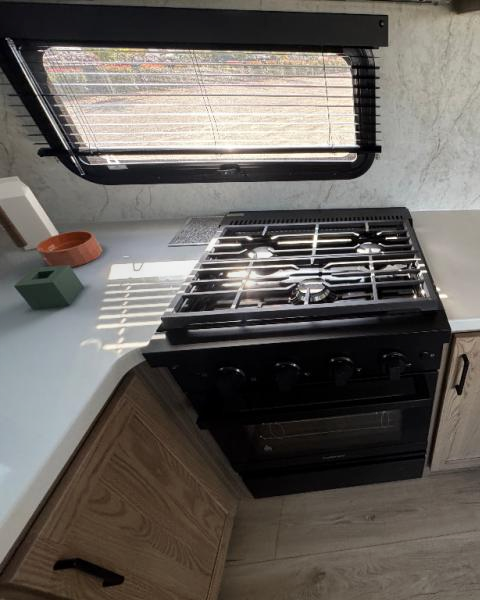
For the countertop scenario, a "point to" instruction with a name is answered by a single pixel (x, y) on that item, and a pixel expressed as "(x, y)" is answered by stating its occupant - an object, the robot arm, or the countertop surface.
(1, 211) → the stick
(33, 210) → the milk carton
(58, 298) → the holder
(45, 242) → the bowl
